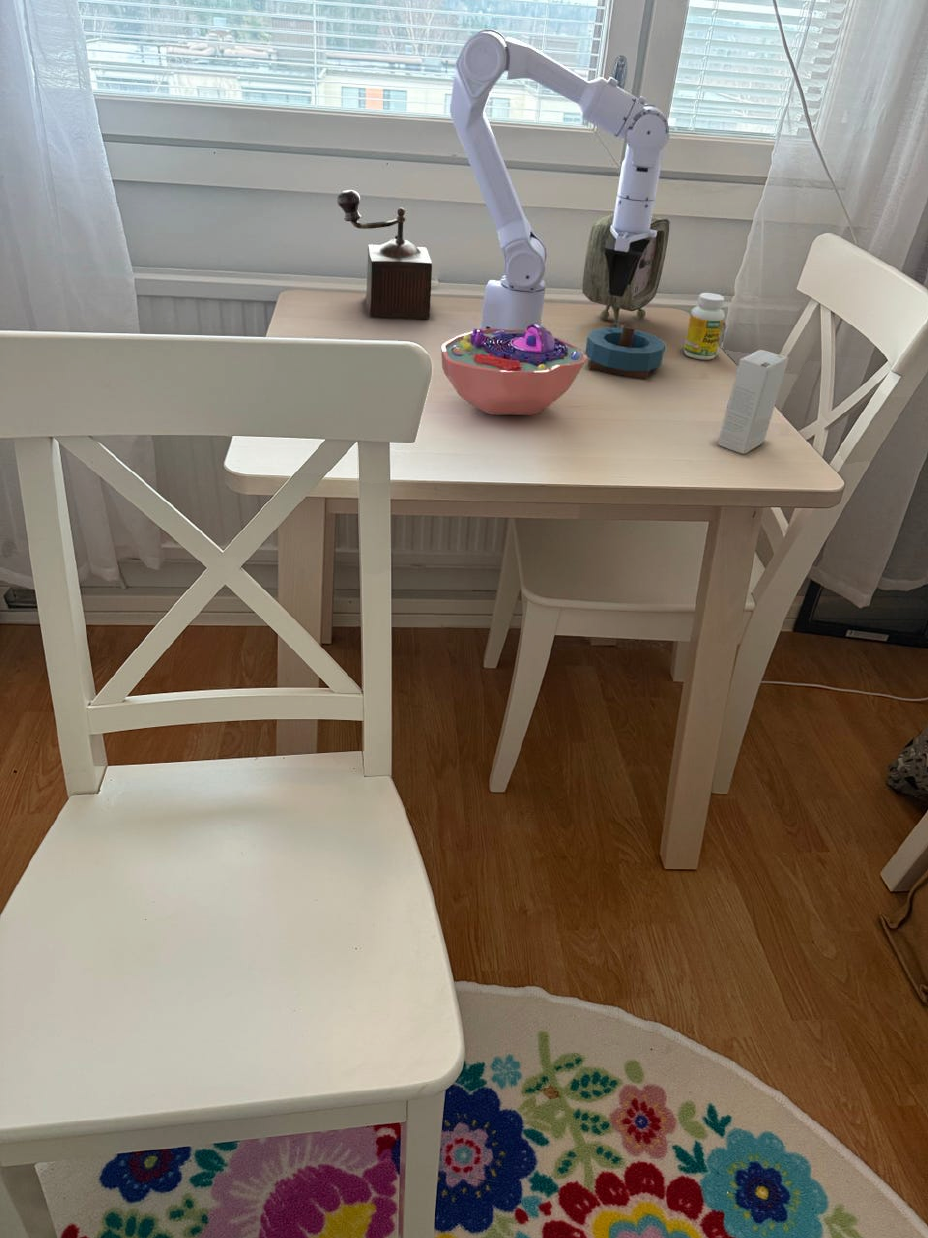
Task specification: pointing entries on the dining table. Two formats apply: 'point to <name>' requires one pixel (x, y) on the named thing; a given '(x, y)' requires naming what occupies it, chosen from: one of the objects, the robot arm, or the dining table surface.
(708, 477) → the dining table surface
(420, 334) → the dining table surface
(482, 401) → the cell model
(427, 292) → the manual coffee grinder
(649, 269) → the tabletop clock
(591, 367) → the peg stand
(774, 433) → the dining table surface
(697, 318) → the supplement bottle
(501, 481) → the dining table surface
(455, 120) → the robot arm
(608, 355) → the ring
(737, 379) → the cosmetic box
